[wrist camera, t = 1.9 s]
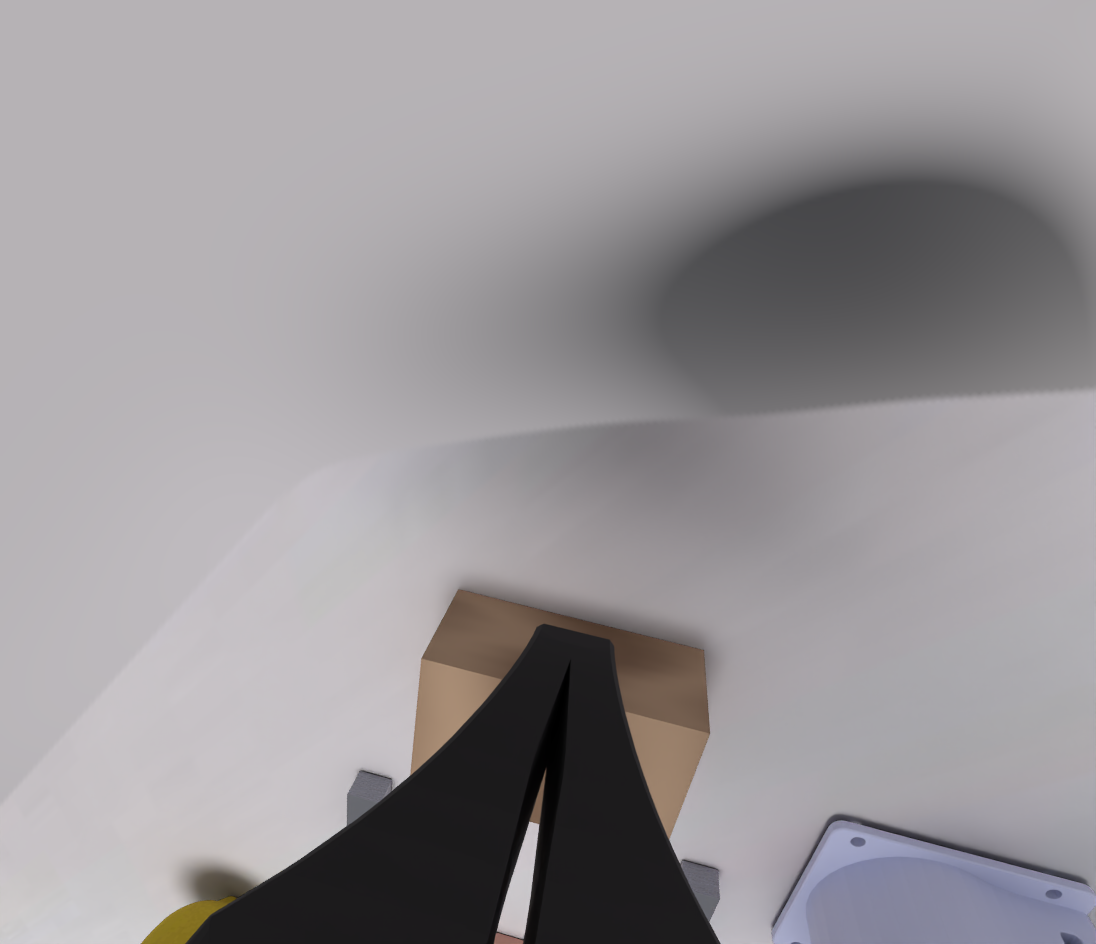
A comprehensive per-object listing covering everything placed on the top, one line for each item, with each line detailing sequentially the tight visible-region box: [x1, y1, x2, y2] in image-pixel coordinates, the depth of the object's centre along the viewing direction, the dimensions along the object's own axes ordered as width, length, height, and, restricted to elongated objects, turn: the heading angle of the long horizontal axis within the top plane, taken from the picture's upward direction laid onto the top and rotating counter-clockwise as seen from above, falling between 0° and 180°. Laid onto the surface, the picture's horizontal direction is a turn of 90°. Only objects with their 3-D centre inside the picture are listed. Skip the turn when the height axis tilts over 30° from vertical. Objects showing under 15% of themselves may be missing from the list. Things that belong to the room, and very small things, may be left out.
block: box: [410, 589, 710, 838], centre depth 22 cm, size 9×6×4 cm, turn 81°
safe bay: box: [347, 771, 720, 921], centre depth 28 cm, size 16×8×1 cm, turn 81°
